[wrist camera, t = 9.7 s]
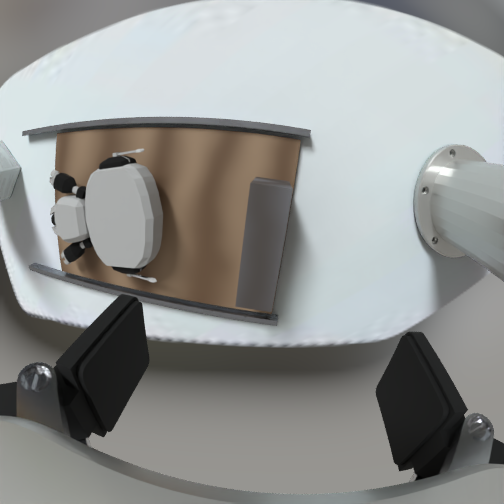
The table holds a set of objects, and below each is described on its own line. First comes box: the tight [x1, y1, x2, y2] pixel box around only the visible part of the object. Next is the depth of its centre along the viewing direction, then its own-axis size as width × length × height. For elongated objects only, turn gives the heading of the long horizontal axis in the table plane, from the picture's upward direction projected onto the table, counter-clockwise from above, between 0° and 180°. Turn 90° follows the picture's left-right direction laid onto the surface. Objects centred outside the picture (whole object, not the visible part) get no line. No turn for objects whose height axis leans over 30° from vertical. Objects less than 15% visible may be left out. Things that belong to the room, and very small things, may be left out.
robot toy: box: [50, 149, 163, 283], centre depth 25 cm, size 12×4×15 cm
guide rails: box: [22, 117, 311, 326], centre depth 27 cm, size 36×20×1 cm, turn 83°
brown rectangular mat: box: [55, 127, 301, 314], centre depth 24 cm, size 28×18×6 cm, turn 83°
